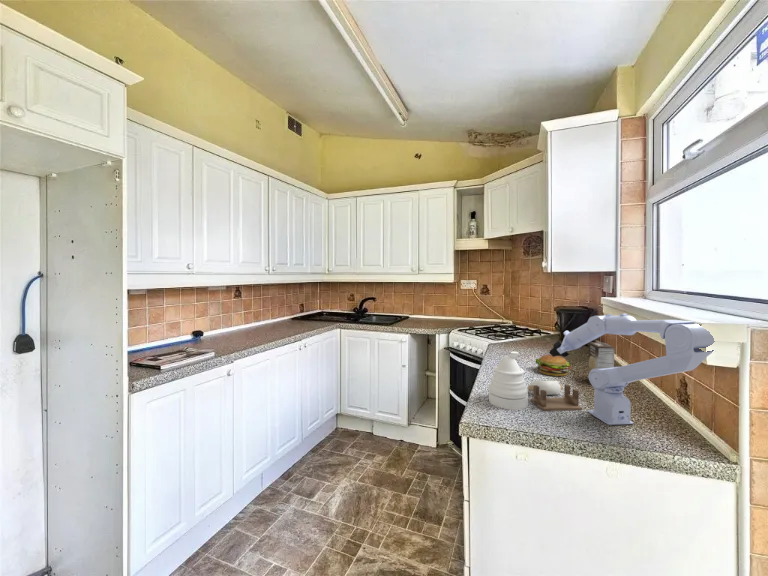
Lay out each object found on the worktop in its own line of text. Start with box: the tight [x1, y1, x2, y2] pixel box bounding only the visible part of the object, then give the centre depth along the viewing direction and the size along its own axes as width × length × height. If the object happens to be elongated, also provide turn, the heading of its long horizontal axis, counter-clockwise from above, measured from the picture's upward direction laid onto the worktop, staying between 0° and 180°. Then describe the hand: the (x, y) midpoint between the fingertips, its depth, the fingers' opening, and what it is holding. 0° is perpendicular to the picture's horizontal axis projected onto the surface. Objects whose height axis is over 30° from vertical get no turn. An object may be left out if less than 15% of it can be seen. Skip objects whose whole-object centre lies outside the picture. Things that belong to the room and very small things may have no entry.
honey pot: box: [488, 351, 529, 411], centre depth 115 cm, size 13×13×18 cm
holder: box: [529, 384, 583, 412], centre depth 112 cm, size 9×13×6 cm
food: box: [535, 354, 572, 377], centre depth 148 cm, size 14×14×8 cm
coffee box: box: [587, 341, 616, 380], centre depth 134 cm, size 9×6×16 cm
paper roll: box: [527, 380, 563, 396], centre depth 122 cm, size 5×12×5 cm, turn 93°
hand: (557, 349), depth 123 cm, fingers open, 7 cm apart
